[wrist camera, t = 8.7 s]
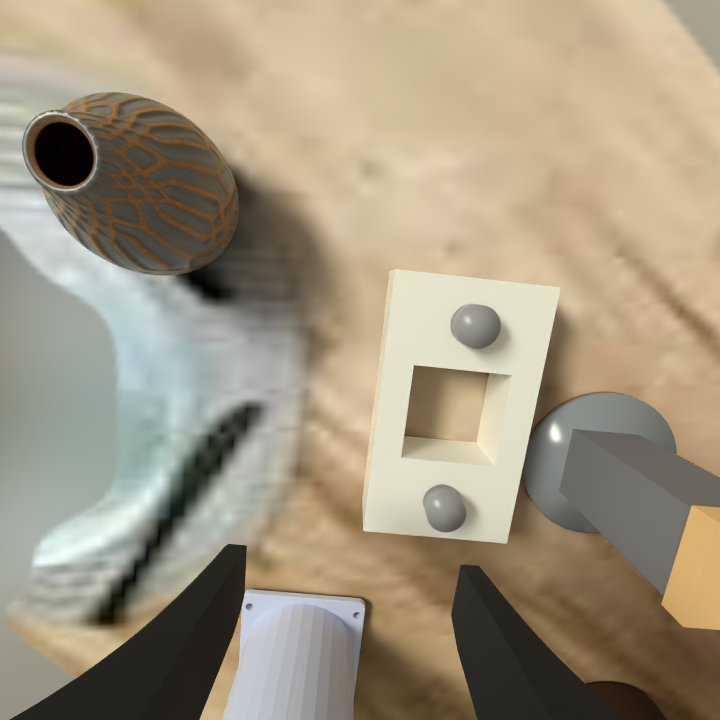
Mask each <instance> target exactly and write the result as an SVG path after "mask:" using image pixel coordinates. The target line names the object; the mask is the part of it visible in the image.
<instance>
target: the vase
mask: <svg viewBox="0 0 720 720" xmlns="http://www.w3.org/2000/svg"><path fill="white" fill-rule="evenodd" d="M22 151H23V157H24V160H25V163H26V166H27V168H28V170H29V171H30V173H31V175H32V176H33V177H34V179H35V180H36V181H37V182H38V183H39V184H40V185H41V187H42V190H43V192H44V195H45V197H46V200H47V202H48V204H49V206H50V208H51V209H52V211H53V213H54V214H55V216H56V217H57V219H58V220H59V222H60V223H61V224H62V225H63V227H64V228H65V229H66V230H67V231H68V232H69V233H70V234H71V235H72V236H73V237H74V238H75V239H76V240H77V241H78V242H79V243H81V244H82V245H83V246H84V247H86V248H87V249H89V250H90V251H91V252H93V253H94V254H96V255H98V256H99V257H101V258H103V259H105V260H106V261H108V262H110V263H113V264H115V265H117V266H119V267H122V268H125V269H128V270H131V271H134V272H138V273H143V274H151V275H177V274H184V273H188V272H192V271H195V270H197V269H200V268H202V267H204V266H206V265H207V264H209V263H211V262H212V261H213V260H215V259H216V258H217V257H218V256H219V255H220V254H221V253H222V252H223V251H224V250H225V249H226V247H227V246H228V245H229V243H230V241H231V240H232V238H233V235H234V233H235V230H236V227H237V223H238V217H239V197H238V191H237V187H236V183H235V180H234V177H233V174H232V172H231V170H230V167H229V165H228V163H227V162H226V160H225V158H224V157H223V155H222V154H221V152H220V151H219V150H218V148H217V147H216V146H215V144H214V143H213V142H212V141H211V140H210V139H209V137H208V136H207V135H206V134H205V133H204V132H203V131H202V130H201V129H200V128H199V127H197V126H196V125H195V124H194V123H193V122H192V121H190V120H189V119H188V118H186V117H185V116H183V115H182V114H180V113H179V112H177V111H175V110H173V109H172V108H170V107H168V106H166V105H164V104H161V103H159V102H156V101H154V100H151V99H148V98H144V97H141V96H137V95H132V94H127V93H116V92H106V93H97V94H92V95H88V96H85V97H82V98H79V99H77V100H75V101H73V102H71V103H70V104H68V105H66V106H65V107H63V108H62V109H61V110H50V111H46V112H43V113H41V114H39V115H38V116H36V117H35V118H34V119H33V120H32V121H31V122H30V123H29V125H28V126H27V128H26V130H25V133H24V136H23V142H22Z"/></svg>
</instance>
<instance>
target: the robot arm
mask: <svg viewBox="0 0 720 720" xmlns="http://www.w3.org/2000/svg"><path fill="white" fill-rule="evenodd" d="M246 549H247V546H245V545H234V544H228V545H226V546H225V547H224V548H223V549H222V550H221V552H220V553H219V554H218V555H217V556H216V557H215V558H214V559H213V560H212V562H211V563H210V564H209V565H208V566H207V567H206V568H205V569H204V570H203V571H202V572H201V573H200V574H199V575H198V577H197V578H196V579H195V580H194V581H193V582H192V583H191V584H190V585H189V586H188V587H187V588H186V589H185V590H184V591H183V592H182V593H181V594H180V595H179V596H178V597H177V598H176V599H174V600H173V601H172V602H171V603H170V604H169V605H168V606H167V607H166V608H165V609H164V610H163V611H161V612H160V613H159V614H158V615H157V616H156V617H155V618H154V619H153V620H152V621H150V622H149V623H148V624H147V625H146V626H145V627H143V628H142V629H141V630H140V631H139V632H137V633H136V634H135V635H134V636H133V637H131V638H130V639H129V640H128V641H126V642H125V643H124V644H123V645H121V646H120V647H119V648H117V649H116V650H115V651H113V652H112V653H111V654H109V655H108V656H107V657H105V658H104V659H103V660H101V661H100V662H99V663H97V664H96V665H95V666H93V667H92V668H90V669H89V670H88V671H86V672H85V673H83V674H82V675H80V676H79V677H78V678H76V679H75V680H73V681H71V682H70V683H68V684H67V685H65V686H64V687H62V688H61V689H59V690H58V691H56V692H55V693H53V694H52V695H50V696H48V697H47V698H45V699H44V700H42V701H40V702H39V703H37V704H36V705H34V706H32V707H31V708H29V709H27V710H26V711H24V712H22V713H20V714H19V715H17V716H15V717H13V718H12V719H10V720H199V719H200V717H201V714H202V711H203V709H204V706H205V704H206V702H207V699H208V697H209V694H210V692H211V689H212V687H213V684H214V682H215V679H216V677H217V674H218V672H219V669H220V667H221V664H222V662H223V659H224V657H225V654H226V652H227V649H228V646H229V644H230V641H231V639H232V636H233V634H234V631H235V628H236V624H237V621H238V618H239V614H240V611H241V607H242V617H241V637H240V656H239V665H238V669H237V672H236V675H235V678H234V682H233V685H232V688H231V691H230V695H229V698H228V701H227V704H226V708H225V711H224V714H223V717H222V720H354V693H355V685H356V678H357V670H358V662H359V655H360V647H361V639H362V632H363V624H364V616H365V602H364V600H362V599H360V598H350V597H338V596H326V595H313V594H301V593H289V592H277V591H265V590H252V589H251V590H247V591H246V592H245V571H246ZM249 603H250V604H252V605H249ZM355 612H359V613H358V614H356V613H355ZM451 616H452V622H453V628H454V634H455V639H456V644H457V649H458V653H459V657H460V660H461V664H462V667H463V671H464V674H465V678H466V681H467V684H468V688H469V691H470V695H471V698H472V701H473V705H474V708H475V712H476V715H477V718H478V720H626V719H625V718H624V717H623V716H621V715H620V714H619V713H618V712H617V711H616V710H614V709H613V708H612V707H611V706H610V705H609V704H607V703H606V702H605V701H604V700H603V699H602V698H600V697H599V696H598V695H597V694H596V693H595V692H594V691H593V690H591V689H590V688H589V687H588V686H587V685H586V684H585V683H584V682H583V681H582V680H581V679H580V678H579V677H577V676H576V675H575V674H574V673H573V672H572V671H571V670H570V669H569V668H568V667H567V666H566V665H565V664H564V663H563V662H562V661H561V660H560V659H559V658H558V657H557V656H556V655H555V654H554V653H553V652H552V651H551V650H550V649H549V648H548V647H547V646H546V644H545V643H544V642H543V641H542V640H541V639H540V638H539V637H538V636H537V635H536V634H535V633H534V632H533V630H532V629H531V628H530V627H529V626H528V625H527V624H526V622H525V621H524V620H523V619H522V618H521V617H520V616H519V614H518V613H517V612H516V611H515V610H514V609H513V607H512V606H511V605H510V604H509V603H508V601H507V600H506V599H505V598H504V596H503V595H502V594H501V593H500V592H499V590H498V589H497V588H496V587H495V585H494V584H493V583H492V582H491V580H490V579H489V578H488V577H487V575H486V574H485V573H484V572H483V570H482V569H481V568H480V567H479V566H472V565H461V567H460V572H459V577H458V583H457V588H456V593H455V598H454V603H453V608H452V613H451Z"/></svg>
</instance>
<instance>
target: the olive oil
mask: <svg viewBox="0 0 720 720" xmlns="http://www.w3.org/2000/svg"><path fill="white" fill-rule="evenodd" d="M587 686H588V687H589V688H590V689H591V690H593V691H594V692H595V693H596V694H597V695H598V696H599V697H600V698H602V699H603V700H604V701H605V702H606V703H607V704H609V705H610V706H611V707H612V708H613V709H614V710H616V711H617V712H618V713H619V714H620V715H621V716H623V717H624V718H625V719H626V720H667V719H666V717H665V716H664V715H663V713H662V712H661V711H660V709H659V708H658V707H657V706H656V704H655V703H654V702H653V701H652V700H651V699H650V698H649V697H648V696H647V695H646V694H644V693H643V692H641V691H639V690H637V689H635V688H633V687H630V686H627V685H624V684H620V683H612V682H599V683H592V684H587Z"/></svg>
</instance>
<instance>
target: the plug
mask: <svg viewBox="0 0 720 720" xmlns="http://www.w3.org/2000/svg"><path fill="white" fill-rule="evenodd" d="M559 491H560V492H561V493H562V494H563V495H564V496H565V497H566V498H567V499H568V500H569V501H570V502H571V503H572V504H573V505H574V506H575V507H576V508H577V509H578V510H579V511H580V512H581V513H582V514H583V515H584V516H585V517H586V518H587V519H588V520H589V521H590V522H591V523H592V524H593V525H594V526H595V527H596V528H597V530H598V531H599V532H600V533H601V534H602V535H603V536H604V537H605V538H606V539H607V540H608V541H609V542H610V543H611V544H612V545H613V546H614V547H615V548H616V549H617V550H618V551H619V552H620V553H621V554H622V555H623V556H624V557H625V558H626V559H627V560H628V561H629V562H630V563H631V564H632V565H633V566H634V567H635V568H636V569H637V570H638V571H639V572H640V573H641V574H642V575H643V576H644V577H645V578H646V579H647V580H648V581H649V582H650V583H651V584H652V585H653V586H654V587H655V588H656V589H657V590H658V591H659V592H660V593H661V594H662V595H663V596H664V597H663V600H662V604H661V605H662V606H663V607H664V608H665V609H666V610H667V611H668V612H669V613H670V614H671V615H672V616H673V617H674V618H675V619H676V620H677V621H678V622H679V623H680V624H681V625H682V627H688V628H701V629H715V630H720V478H719V477H717V476H716V475H714V474H712V473H710V472H708V471H706V470H704V469H702V468H701V467H699V466H697V465H695V464H693V463H691V462H689V461H687V460H685V459H684V458H682V457H680V456H678V455H676V454H674V453H672V452H670V451H669V450H667V449H665V448H663V447H661V446H659V445H657V444H655V443H653V442H652V441H650V440H648V439H646V438H644V437H642V436H640V435H635V434H624V433H613V432H602V431H590V430H579V429H573V431H572V435H571V440H570V444H569V449H568V453H567V457H566V462H565V466H564V471H563V475H562V480H561V484H560V488H559Z"/></svg>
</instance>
